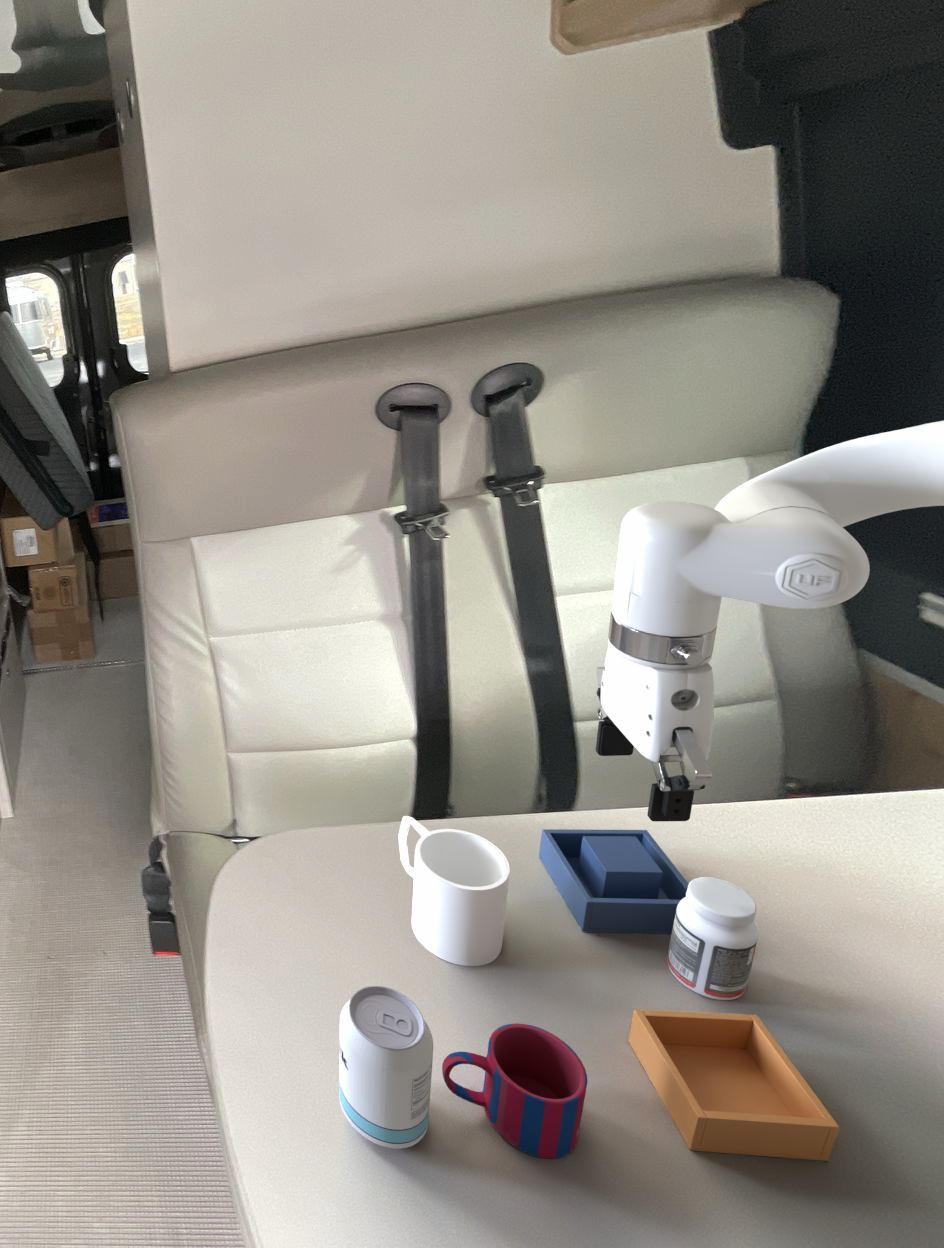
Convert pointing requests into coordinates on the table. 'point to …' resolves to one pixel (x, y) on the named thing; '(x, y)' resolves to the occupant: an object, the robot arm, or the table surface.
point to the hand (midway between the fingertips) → (639, 784)
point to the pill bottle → (714, 939)
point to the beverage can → (385, 1067)
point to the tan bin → (731, 1085)
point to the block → (618, 868)
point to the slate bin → (611, 913)
